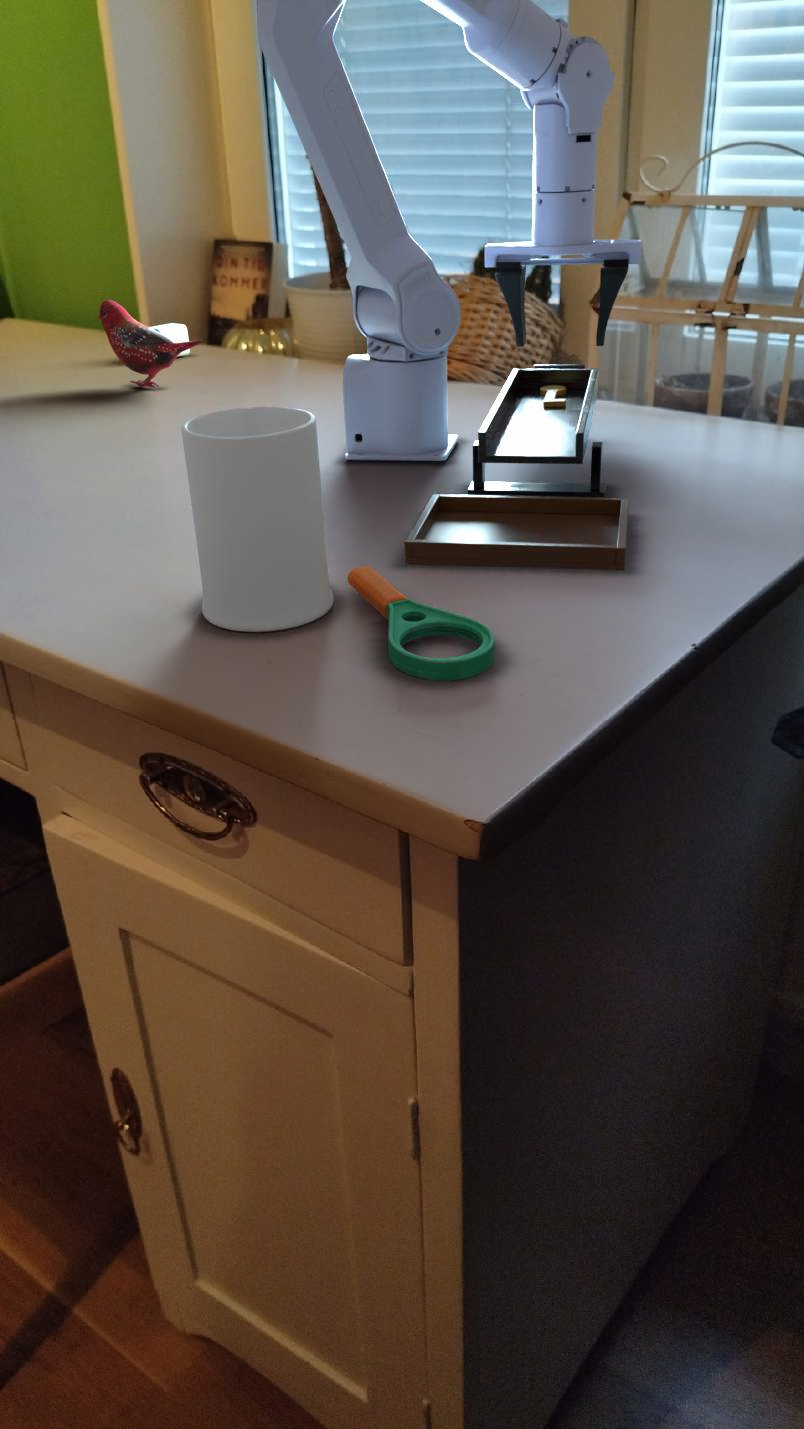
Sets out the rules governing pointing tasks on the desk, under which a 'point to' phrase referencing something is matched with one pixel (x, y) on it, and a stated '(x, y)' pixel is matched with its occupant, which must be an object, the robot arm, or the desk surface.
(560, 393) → the key
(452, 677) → the magnifying glass
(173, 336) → the usb wall charger
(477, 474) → the stand
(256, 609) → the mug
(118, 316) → the decorative bird figurine
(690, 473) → the desk surface
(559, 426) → the dark sloped chute
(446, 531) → the tray
